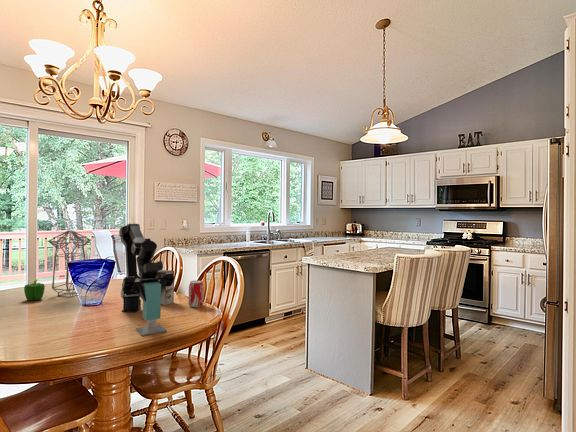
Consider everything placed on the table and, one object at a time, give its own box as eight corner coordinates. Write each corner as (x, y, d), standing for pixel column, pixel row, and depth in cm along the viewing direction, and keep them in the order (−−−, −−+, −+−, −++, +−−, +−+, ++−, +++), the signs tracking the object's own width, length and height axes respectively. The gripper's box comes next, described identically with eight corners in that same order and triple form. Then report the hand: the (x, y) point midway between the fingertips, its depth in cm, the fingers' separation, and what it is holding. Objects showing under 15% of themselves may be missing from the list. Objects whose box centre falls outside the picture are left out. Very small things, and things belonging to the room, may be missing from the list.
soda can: (199, 308, 168) (199, 283, 168) (185, 307, 169) (186, 282, 169) (205, 304, 174) (206, 280, 174) (192, 303, 176) (193, 279, 176)
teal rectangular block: (142, 317, 135) (143, 283, 135) (156, 315, 138) (157, 282, 138) (146, 320, 131) (146, 285, 131) (160, 318, 134) (161, 284, 134)
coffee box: (174, 302, 178) (175, 270, 178) (165, 305, 172) (166, 272, 172) (160, 300, 182) (160, 269, 182) (151, 303, 176) (151, 270, 176)
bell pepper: (36, 302, 173) (36, 281, 173) (20, 301, 174) (20, 281, 174) (48, 297, 182) (48, 278, 182) (32, 297, 182) (33, 278, 182)
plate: (135, 329, 136) (135, 328, 136) (159, 325, 141) (159, 324, 141) (141, 336, 129) (141, 334, 129) (166, 331, 134) (166, 330, 134)
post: (146, 328, 135) (147, 317, 135) (153, 327, 137) (154, 316, 137) (148, 330, 133) (148, 318, 133) (155, 329, 135) (156, 317, 135)
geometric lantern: (92, 293, 195) (93, 229, 194) (70, 300, 179) (71, 231, 178) (67, 291, 197) (68, 228, 196) (43, 298, 182) (44, 230, 181)
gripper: (124, 255, 132) (130, 290, 124) (173, 253, 143) (182, 285, 135) (119, 273, 139) (124, 307, 130) (167, 269, 150) (175, 301, 141)
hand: (152, 300), depth 134 cm, fingers closed on teal rectangular block, 5 cm apart
